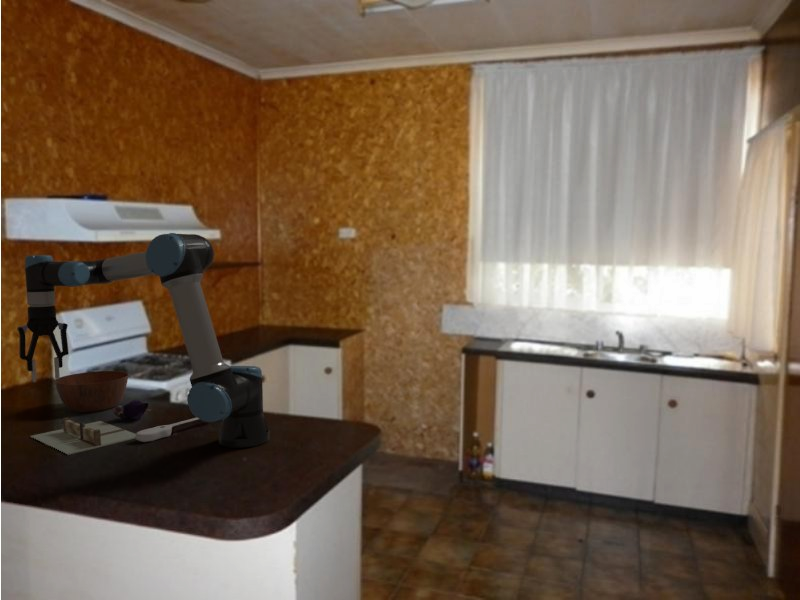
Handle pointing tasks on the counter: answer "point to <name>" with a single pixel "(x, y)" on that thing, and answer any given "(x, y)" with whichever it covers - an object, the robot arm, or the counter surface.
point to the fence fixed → (90, 434)
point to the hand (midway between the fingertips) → (45, 379)
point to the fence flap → (71, 427)
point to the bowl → (92, 390)
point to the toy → (131, 410)
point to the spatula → (158, 431)
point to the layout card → (75, 444)
